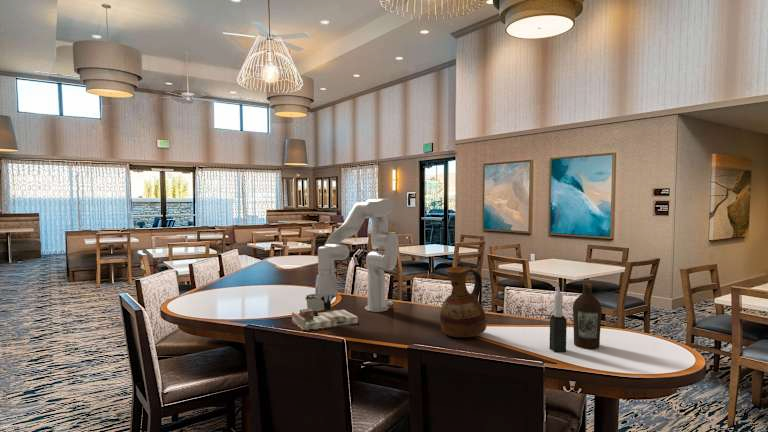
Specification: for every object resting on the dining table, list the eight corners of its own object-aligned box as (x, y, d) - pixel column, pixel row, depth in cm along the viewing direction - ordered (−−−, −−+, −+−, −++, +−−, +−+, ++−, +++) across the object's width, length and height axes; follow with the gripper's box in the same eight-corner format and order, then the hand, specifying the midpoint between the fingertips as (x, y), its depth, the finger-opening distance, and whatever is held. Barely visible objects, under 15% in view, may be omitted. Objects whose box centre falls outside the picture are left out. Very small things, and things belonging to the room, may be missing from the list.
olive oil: (571, 340, 181) (572, 281, 180) (599, 343, 177) (600, 282, 176) (572, 347, 171) (573, 285, 170) (602, 351, 167) (603, 287, 166)
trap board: (343, 315, 219) (343, 305, 219) (357, 322, 205) (357, 312, 205) (292, 322, 205) (292, 312, 205) (303, 331, 192) (303, 319, 192)
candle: (548, 348, 170) (549, 285, 169) (560, 347, 171) (561, 285, 170) (554, 352, 165) (555, 288, 164) (567, 352, 165) (568, 287, 165)
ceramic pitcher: (431, 331, 193) (432, 264, 192) (469, 326, 201) (469, 262, 200) (455, 344, 175) (456, 271, 174) (495, 338, 183) (496, 268, 182)
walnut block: (309, 316, 205) (309, 308, 204) (313, 319, 200) (313, 310, 200) (299, 318, 202) (299, 309, 202) (303, 320, 198) (303, 312, 198)
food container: (331, 312, 224) (331, 293, 224) (328, 315, 218) (328, 296, 218) (308, 312, 225) (308, 293, 225) (305, 315, 219) (305, 295, 219)
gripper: (337, 269, 212) (338, 305, 213) (308, 272, 205) (309, 310, 206) (343, 271, 206) (344, 309, 207) (314, 275, 198) (315, 314, 199)
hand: (327, 309), depth 206 cm, fingers closed
